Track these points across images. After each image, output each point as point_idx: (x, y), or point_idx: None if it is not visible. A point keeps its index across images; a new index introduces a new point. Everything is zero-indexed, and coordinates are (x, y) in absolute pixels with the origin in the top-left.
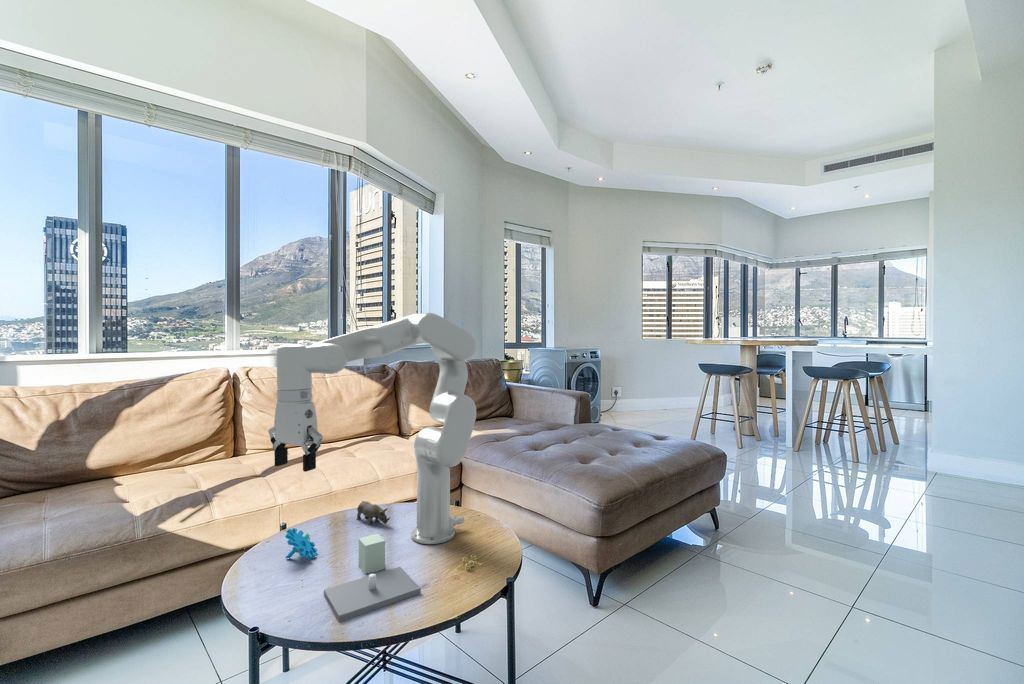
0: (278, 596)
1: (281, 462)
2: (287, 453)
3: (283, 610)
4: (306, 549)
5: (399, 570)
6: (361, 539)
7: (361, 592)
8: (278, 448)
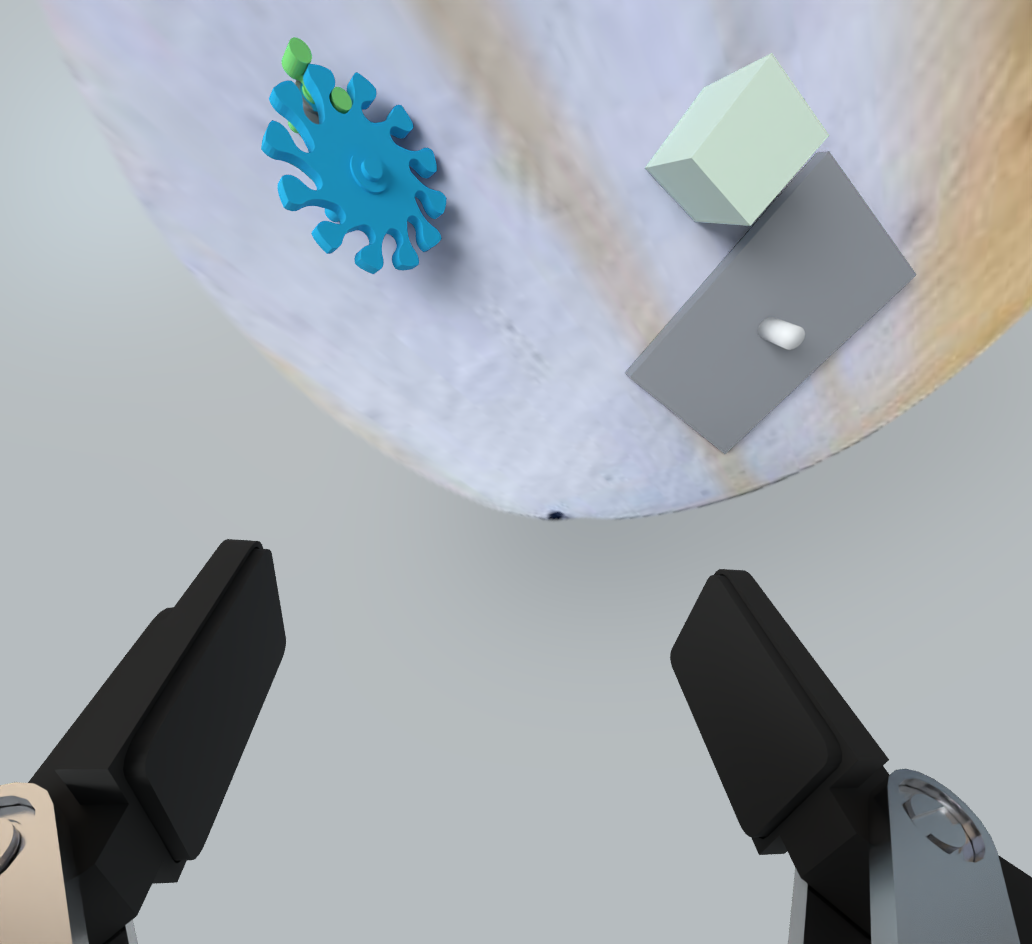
0: (510, 417)
1: (270, 633)
2: (203, 659)
3: (568, 456)
4: (410, 194)
5: (832, 185)
6: (709, 165)
7: (743, 355)
8: (143, 883)
